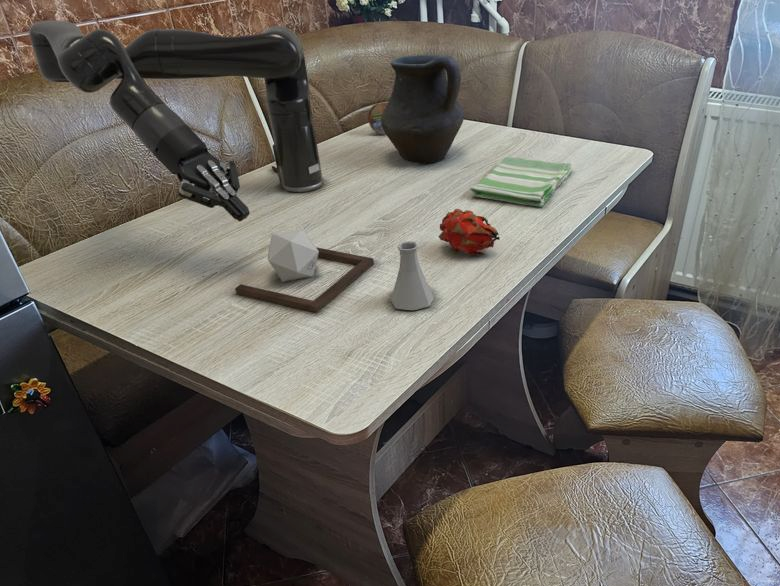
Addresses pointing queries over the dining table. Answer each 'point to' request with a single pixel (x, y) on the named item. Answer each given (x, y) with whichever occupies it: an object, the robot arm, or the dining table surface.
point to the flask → (410, 281)
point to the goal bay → (324, 298)
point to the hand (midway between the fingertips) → (244, 217)
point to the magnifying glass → (377, 117)
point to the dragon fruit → (467, 232)
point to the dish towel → (522, 181)
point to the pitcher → (423, 107)
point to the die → (292, 254)
